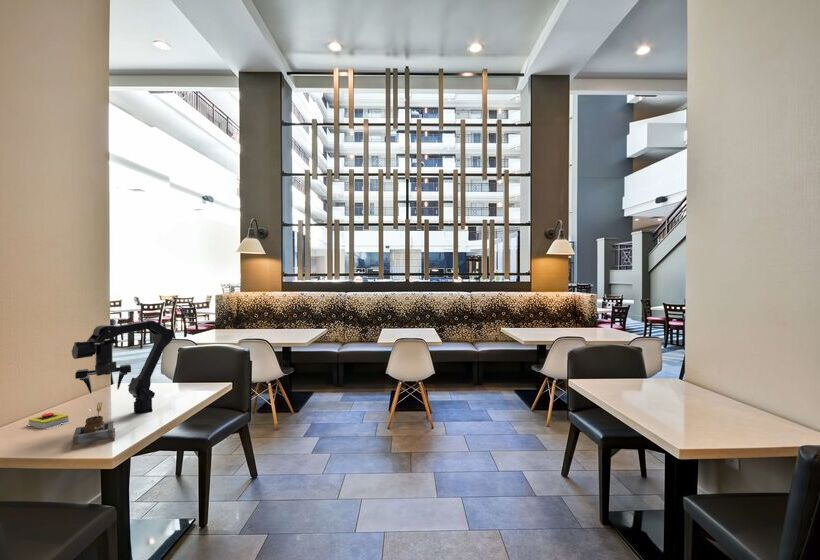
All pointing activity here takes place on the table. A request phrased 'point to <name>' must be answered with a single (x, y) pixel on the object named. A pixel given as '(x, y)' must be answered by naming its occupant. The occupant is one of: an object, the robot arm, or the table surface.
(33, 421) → the emergency button
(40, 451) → the table surface
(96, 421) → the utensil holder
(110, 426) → the pocket plate
